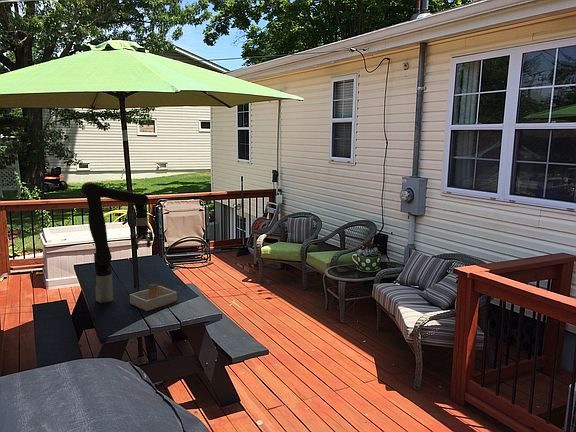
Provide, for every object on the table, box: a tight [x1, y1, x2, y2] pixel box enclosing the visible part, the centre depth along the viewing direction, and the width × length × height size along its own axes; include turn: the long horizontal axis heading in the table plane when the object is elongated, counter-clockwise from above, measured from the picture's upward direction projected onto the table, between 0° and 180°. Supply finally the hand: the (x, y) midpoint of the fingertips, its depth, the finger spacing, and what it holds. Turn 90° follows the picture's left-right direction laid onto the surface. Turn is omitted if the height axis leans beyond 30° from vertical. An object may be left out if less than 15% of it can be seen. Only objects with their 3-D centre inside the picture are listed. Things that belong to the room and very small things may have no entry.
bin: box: [129, 285, 178, 312], centre depth 286 cm, size 22×18×6 cm
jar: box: [148, 283, 159, 300], centre depth 286 cm, size 6×6×10 cm
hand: (142, 248), depth 300 cm, fingers open, 8 cm apart
